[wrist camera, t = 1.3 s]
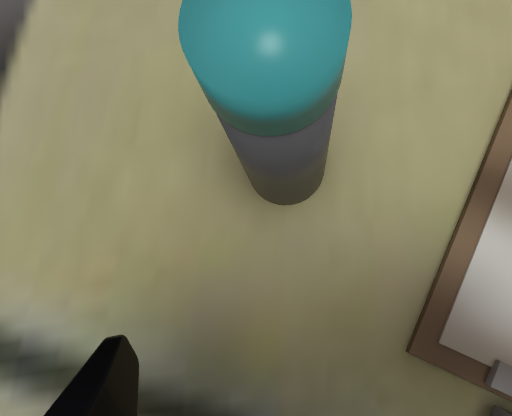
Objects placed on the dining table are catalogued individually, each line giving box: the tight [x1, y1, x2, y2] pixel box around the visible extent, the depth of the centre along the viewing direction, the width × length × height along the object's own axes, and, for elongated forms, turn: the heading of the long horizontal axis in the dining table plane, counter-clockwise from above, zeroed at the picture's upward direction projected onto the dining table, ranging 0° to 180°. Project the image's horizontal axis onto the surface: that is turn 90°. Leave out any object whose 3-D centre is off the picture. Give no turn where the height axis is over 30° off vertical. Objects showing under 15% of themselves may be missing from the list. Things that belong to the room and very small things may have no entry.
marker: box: [178, 0, 352, 205], centre depth 17 cm, size 4×4×14 cm
